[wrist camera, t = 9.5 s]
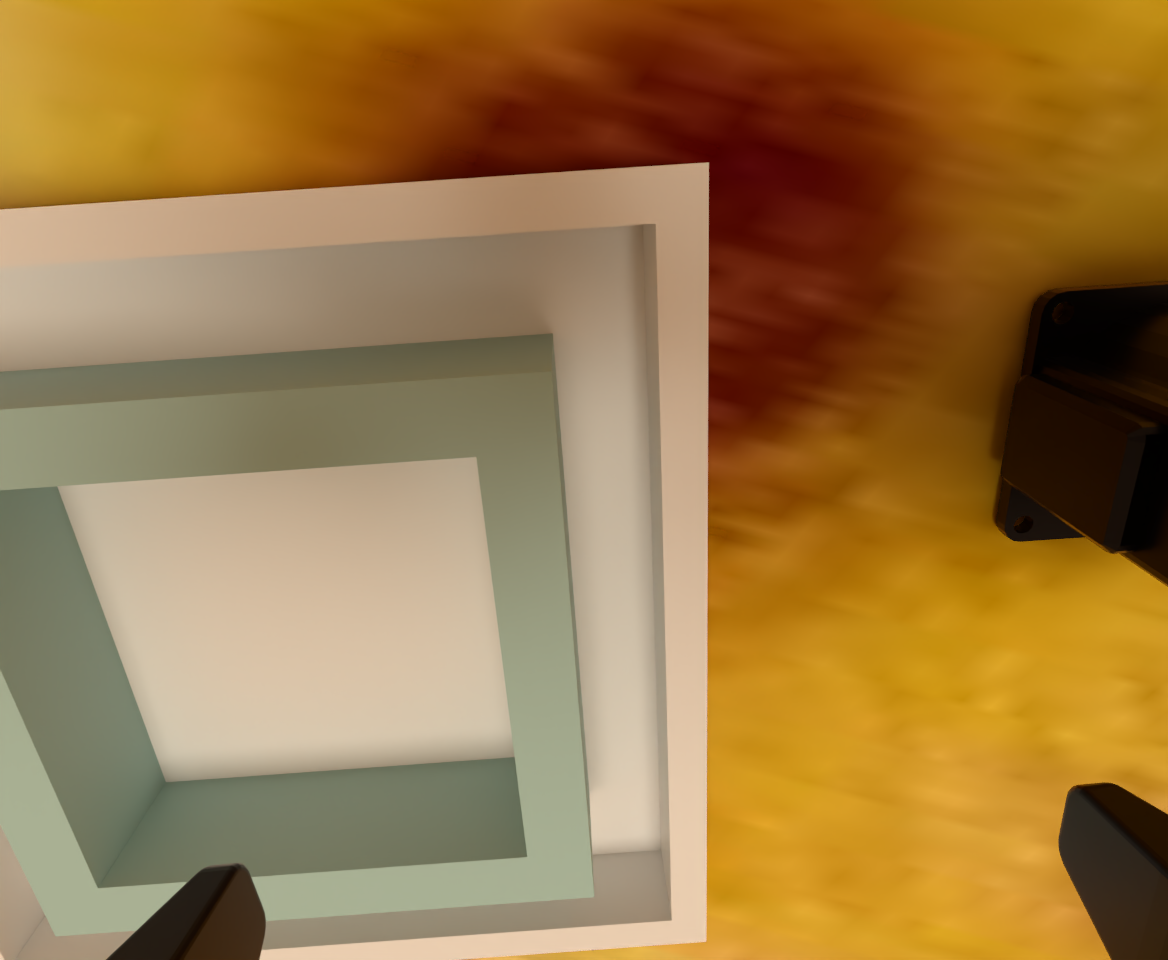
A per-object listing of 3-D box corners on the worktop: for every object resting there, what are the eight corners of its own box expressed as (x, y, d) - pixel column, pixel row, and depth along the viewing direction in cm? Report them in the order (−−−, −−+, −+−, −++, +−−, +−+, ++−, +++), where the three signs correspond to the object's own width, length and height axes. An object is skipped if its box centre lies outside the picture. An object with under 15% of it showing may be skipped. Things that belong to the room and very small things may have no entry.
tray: (683, 163, 16) (708, 162, 14) (689, 854, 24) (706, 941, 22) (-272, 227, 16) (-442, 239, 14) (51, 900, 24) (-13, 993, 22)
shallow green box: (552, 333, 17) (551, 371, 14) (589, 793, 23) (594, 897, 19) (-55, 375, 17) (-198, 423, 14) (128, 826, 22) (55, 936, 19)
